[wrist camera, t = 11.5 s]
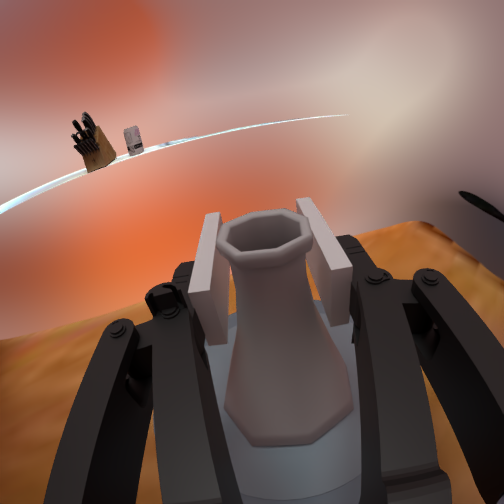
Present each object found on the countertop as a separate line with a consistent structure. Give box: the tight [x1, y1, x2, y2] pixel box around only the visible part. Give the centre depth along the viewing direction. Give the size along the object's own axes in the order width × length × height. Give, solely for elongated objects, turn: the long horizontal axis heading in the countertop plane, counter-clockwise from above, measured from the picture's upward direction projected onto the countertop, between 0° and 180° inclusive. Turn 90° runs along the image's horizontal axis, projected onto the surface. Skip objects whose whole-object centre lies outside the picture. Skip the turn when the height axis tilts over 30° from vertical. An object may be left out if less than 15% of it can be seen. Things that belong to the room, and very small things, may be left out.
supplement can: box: [124, 126, 144, 156], centre depth 131 cm, size 8×8×15 cm
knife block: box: [71, 112, 116, 172], centre depth 122 cm, size 11×35×31 cm, turn 12°
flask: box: [216, 208, 354, 446], centre depth 12 cm, size 7×7×10 cm
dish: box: [153, 300, 361, 504], centre depth 15 cm, size 16×16×2 cm
